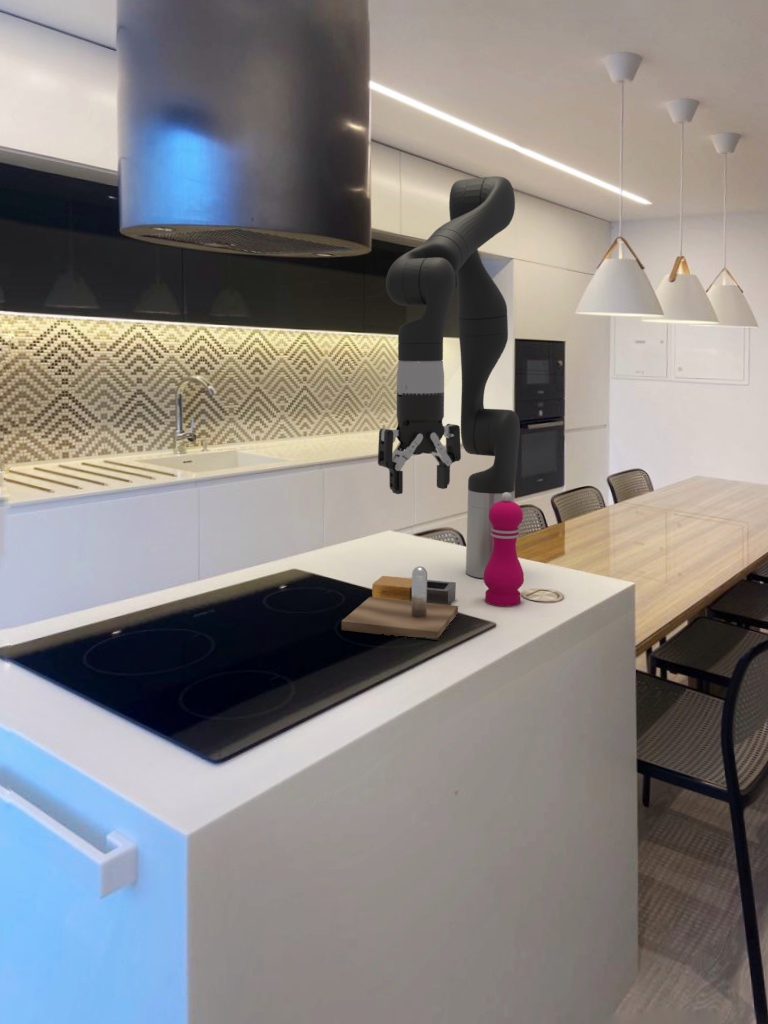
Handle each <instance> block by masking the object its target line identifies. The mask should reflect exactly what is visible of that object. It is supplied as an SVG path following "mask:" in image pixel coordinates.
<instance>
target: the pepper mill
mask: <svg viewBox="0 0 768 1024" xmlns="http://www.w3.org/2000/svg"><path fill="white" fill-rule="evenodd" d="M501 498H502V500H503V501H499V502H497V503H495V504H494V505H492V507H491V508H490V511H489V520H490V522H491V523H492V525H493V527H492V528H491V530H492V533H491V536H493V540H494V546H493V552H492V555H491V558H490V560H489V562H488V564H487V566H486V568H485V571H484V577H483V578H482V579H483V580H482V581H483V583H484V585H485V586H486V587H487V588H488V589H486V591H485V594H484V595H485V597H484V598H485V602H486V603H487V604H488V605H492V606H496V607H514V606H517V605H519V604H520V603H521V592H520V591H519V589H520V588H521V587H522V586H523V584H524V581H525V578H524V570H523V567H522V565H521V562H520V560H519V557H518V553H517V539H518V538H519V537H520V528H518V527H519V526H520V524H521V523H522V522H523V520H524V514H523V513H524V511H523V509H522V508H521V506H520V505H519V504H518V503H516V502H515V501H514V502H512V501H510V500H511V498H512V497H511V494H510V493H508V492H505V493H503V494H502V496H501Z"/></svg>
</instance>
